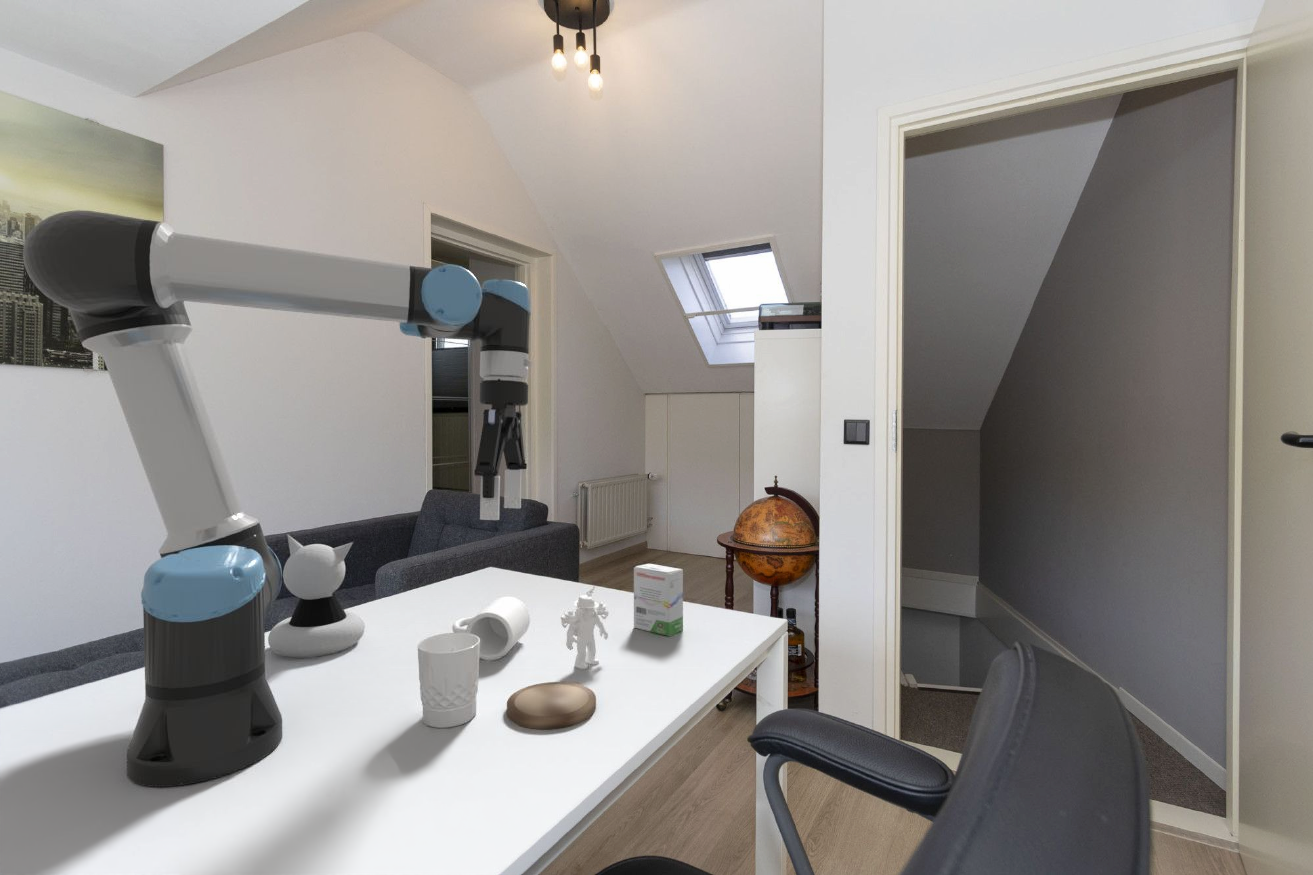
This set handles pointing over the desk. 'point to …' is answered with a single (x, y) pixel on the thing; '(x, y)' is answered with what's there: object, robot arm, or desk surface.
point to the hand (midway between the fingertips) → (501, 513)
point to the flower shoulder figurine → (585, 628)
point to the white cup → (449, 678)
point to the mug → (497, 626)
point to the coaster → (551, 705)
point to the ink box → (658, 599)
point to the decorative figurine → (315, 604)
